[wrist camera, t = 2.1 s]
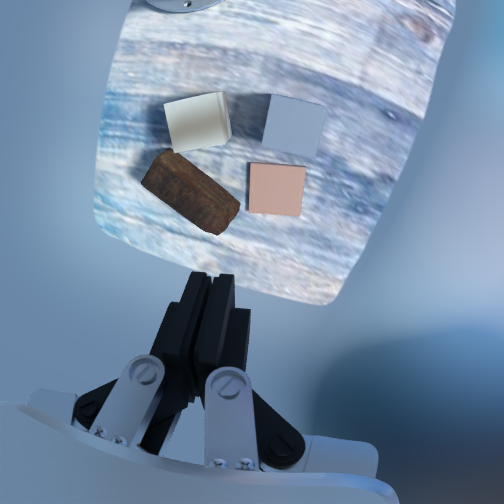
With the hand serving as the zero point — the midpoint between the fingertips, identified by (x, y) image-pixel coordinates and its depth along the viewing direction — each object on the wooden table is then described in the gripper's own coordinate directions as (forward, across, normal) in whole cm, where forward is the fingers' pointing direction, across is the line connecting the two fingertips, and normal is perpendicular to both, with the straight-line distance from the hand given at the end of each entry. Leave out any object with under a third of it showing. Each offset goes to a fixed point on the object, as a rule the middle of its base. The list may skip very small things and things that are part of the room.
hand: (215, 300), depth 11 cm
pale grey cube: (+22, +5, -5) cm, 23 cm away
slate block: (+22, -4, -5) cm, 23 cm away
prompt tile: (+22, -3, +3) cm, 22 cm away
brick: (+22, +7, +3) cm, 23 cm away
